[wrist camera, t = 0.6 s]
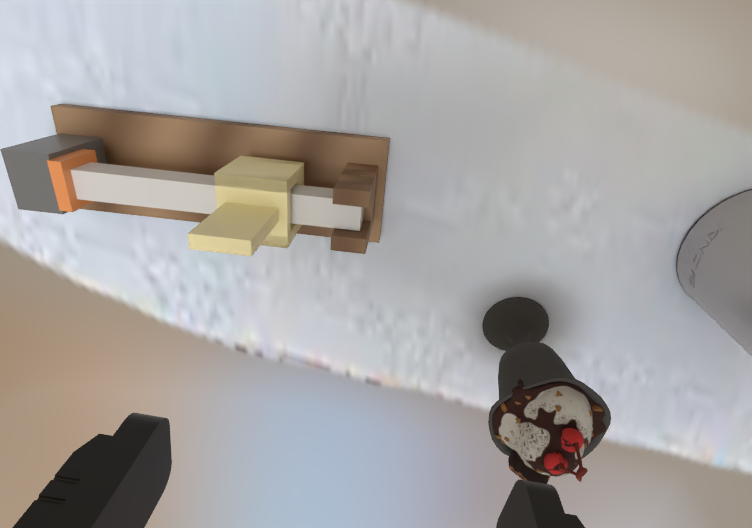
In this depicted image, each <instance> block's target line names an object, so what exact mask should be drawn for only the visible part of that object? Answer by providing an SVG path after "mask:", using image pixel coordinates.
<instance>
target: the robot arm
mask: <svg viewBox="0 0 752 528" xmlns="http://www.w3.org/2000/svg"><path fill="white" fill-rule="evenodd" d="M677 273H678V277H679V282H680V283H681V285H682V287H683V289H684V291H685V292H686V293H687V294H688V295H689V296H690V297H691V298H692V299H693V300H694V301H695V302H696V303H697V304H698V305H699V306H700V307H701V308H702V309H703V310H704V311H705V312H707V313H708V314H709V315H710V316H711V317H712V318H713V319H714V320H715V321H716V322H717V323H718V324H719V325H720V326H721V327H722V328H723V329H724V330H725V331H726V332H727V333H728V334H729V335H730V336H731V337H732V338H733V339H734V340H735V341H736V342H737V343H738V344H739V345H741V346H742V347H743V348H744V349H745V350H746V351H747V352H748V353H749V354H750V355H751V356H752V190H750V191H746V192H743V193H741V194H739V195H736V196H734V197H732V198H729V199H727V200H726V201H724V202H722V203H721V204H719V205H717V206H716V207H714V208H713V209H711V210H710V211H709V212H708V213H707V214H706V215H704V216H703V217H702V218H701V219H700V220H699V221H698V222H697V223H696V225H695V226H694V227H693V228H692V229H691V230H690V232H689V233H688V235H687V237H686V239H685V240H684V242H683V244H682V246H681V249H680V252H679V256H678V262H677ZM171 464H172V460H171V443H170V425H169V420H168V419H167V418H162V417H157V416H150V415H144V414H139V413H132V414H130V415H129V416H128V417H127V418H126V419H125V421H124V422H123V423H122V424H121V426H120V427H119V429H118V430H117V431H116V432H115V434H114V435H113V436H110V435H104V434H98V435H97V436H96V437H94V438H93V439H91V440H90V441H89V442H87V443H86V444H85V445H83V446H82V447H80V448H79V449H77V450H76V451H74V452H73V454H72V455H71V456H70V457H69V459H68V460H67V461H66V462H65V464H64V465H63V466H62V467H61V468H60V470H59V471H58V472H57V473H56V475H55V478H54V480H51V481H50V482H49V484H48V485H47V486H46V487H45V489H44V490H43V491H42V492H41V493H40V494H39V498H38V499H37V500H35V501H34V502H33V503H32V504H31V506H30V507H29V508H28V509H27V511H26V512H25V513H24V514H23V516H22V517H21V518H20V519H19V521H18V522H17V523H16V524H15V525H14V527H13V528H144V527H145V525H146V523H147V522H148V519H149V518H150V516H151V514H152V512H153V510H154V509H155V507H156V505H157V503H158V501H159V499H160V497H161V496H162V494H163V491H164V489H165V487H166V485H167V482H168V479H169V475H170V471H171ZM496 528H585V527H584V526H583V524H582V523H581V521H580V520H579V519H578V517H577V516H576V515H570V514H565V513H564V510H563V507H562V504H561V501H560V498H559V495H558V493H557V491H556V489H555V488H554V486H552V485H549V484H543V483H537V482H531V481H525V480H518V481H517V482H516V483H515V485H514V487H513V489H512V491H511V493H510V495H509V497H508V499H507V502H506V504H505V506H504V508H503V510H502V512H501V514H500V516H499V519H498V522H497V527H496Z"/></svg>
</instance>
